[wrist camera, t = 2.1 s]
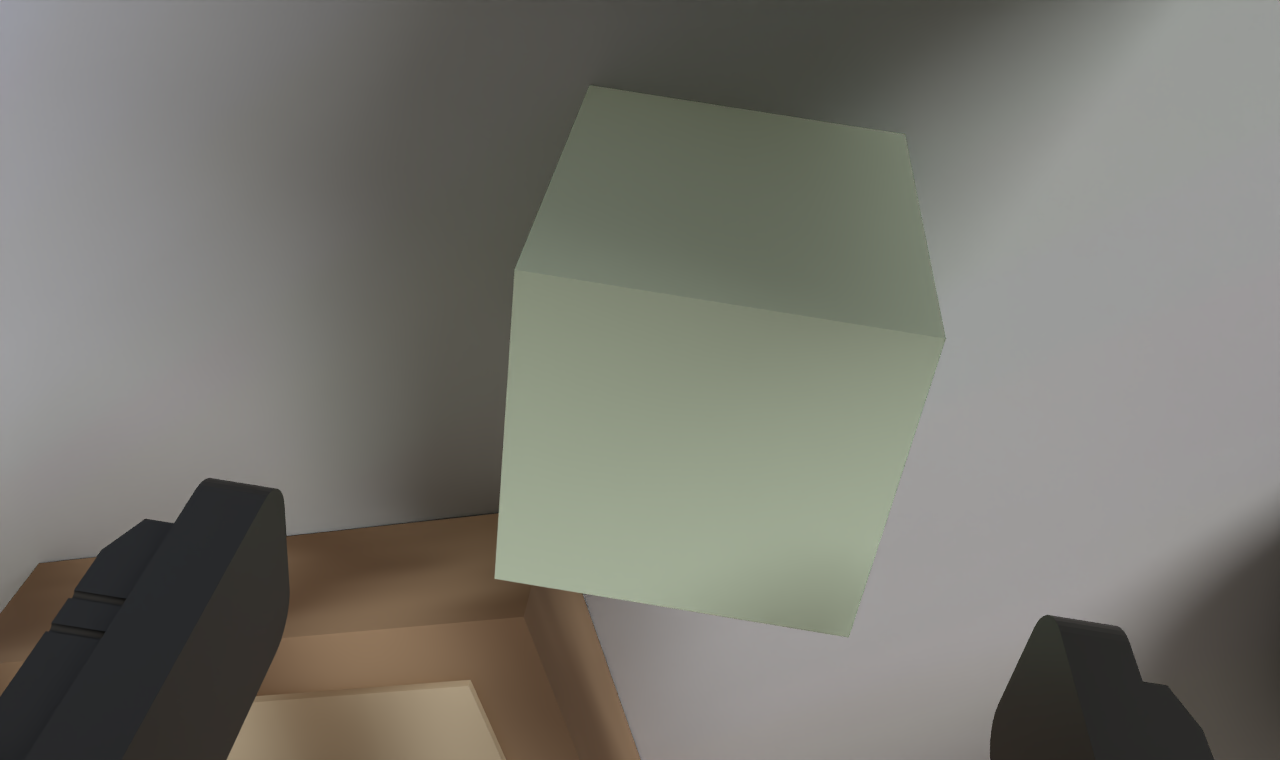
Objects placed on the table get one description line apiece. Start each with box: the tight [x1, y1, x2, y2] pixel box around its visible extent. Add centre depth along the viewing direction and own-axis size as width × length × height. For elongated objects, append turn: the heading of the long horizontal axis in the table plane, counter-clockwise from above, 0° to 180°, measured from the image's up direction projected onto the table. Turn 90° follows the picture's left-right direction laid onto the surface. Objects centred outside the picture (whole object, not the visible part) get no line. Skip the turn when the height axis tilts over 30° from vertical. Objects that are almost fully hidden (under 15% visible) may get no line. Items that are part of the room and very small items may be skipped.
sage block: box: [495, 85, 946, 637], centre depth 17 cm, size 5×5×6 cm
